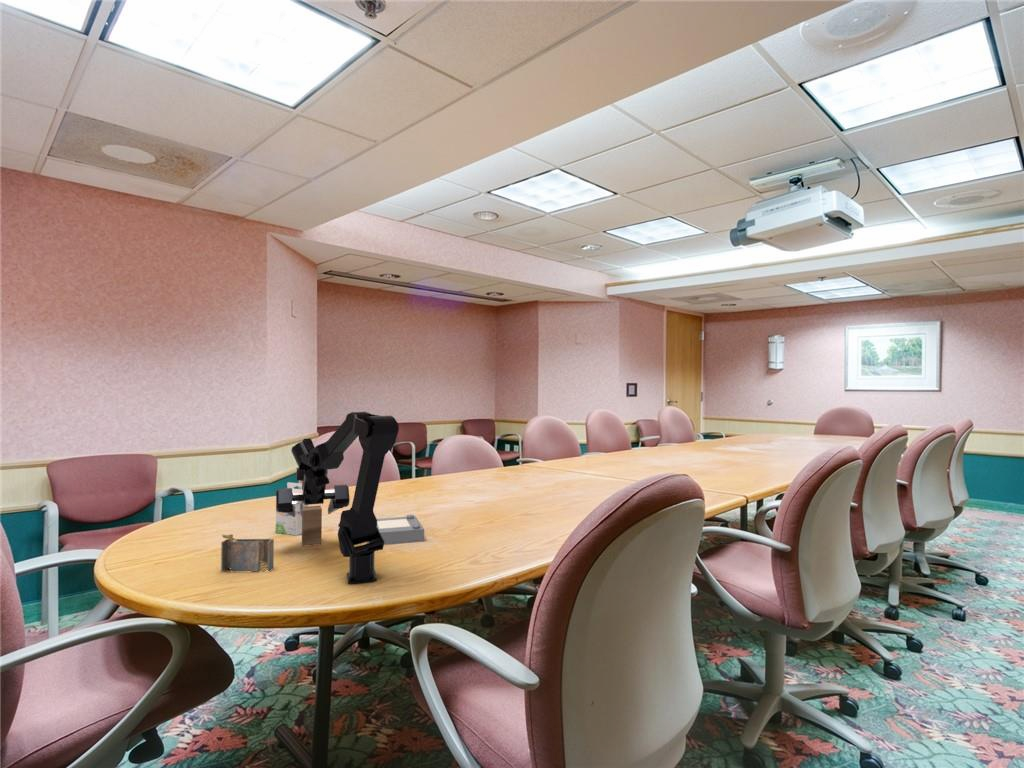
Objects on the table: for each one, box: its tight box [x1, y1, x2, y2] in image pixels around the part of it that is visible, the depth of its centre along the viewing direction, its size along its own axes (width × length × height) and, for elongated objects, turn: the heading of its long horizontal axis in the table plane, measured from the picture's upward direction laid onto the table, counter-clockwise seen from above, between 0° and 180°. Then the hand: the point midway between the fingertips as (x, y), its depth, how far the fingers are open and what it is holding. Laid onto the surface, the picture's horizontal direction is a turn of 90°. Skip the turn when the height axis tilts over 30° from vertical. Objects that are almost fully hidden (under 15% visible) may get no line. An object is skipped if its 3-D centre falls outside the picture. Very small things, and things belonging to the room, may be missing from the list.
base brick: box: [366, 514, 425, 545], centre depth 158 cm, size 16×16×4 cm
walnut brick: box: [301, 505, 323, 547], centre depth 150 cm, size 5×5×10 cm
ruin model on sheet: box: [220, 533, 275, 573], centre depth 128 cm, size 11×3×10 cm, turn 92°
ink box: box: [275, 481, 309, 536], centre depth 161 cm, size 9×5×15 cm, turn 71°
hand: (311, 514), depth 149 cm, fingers open, 9 cm apart
